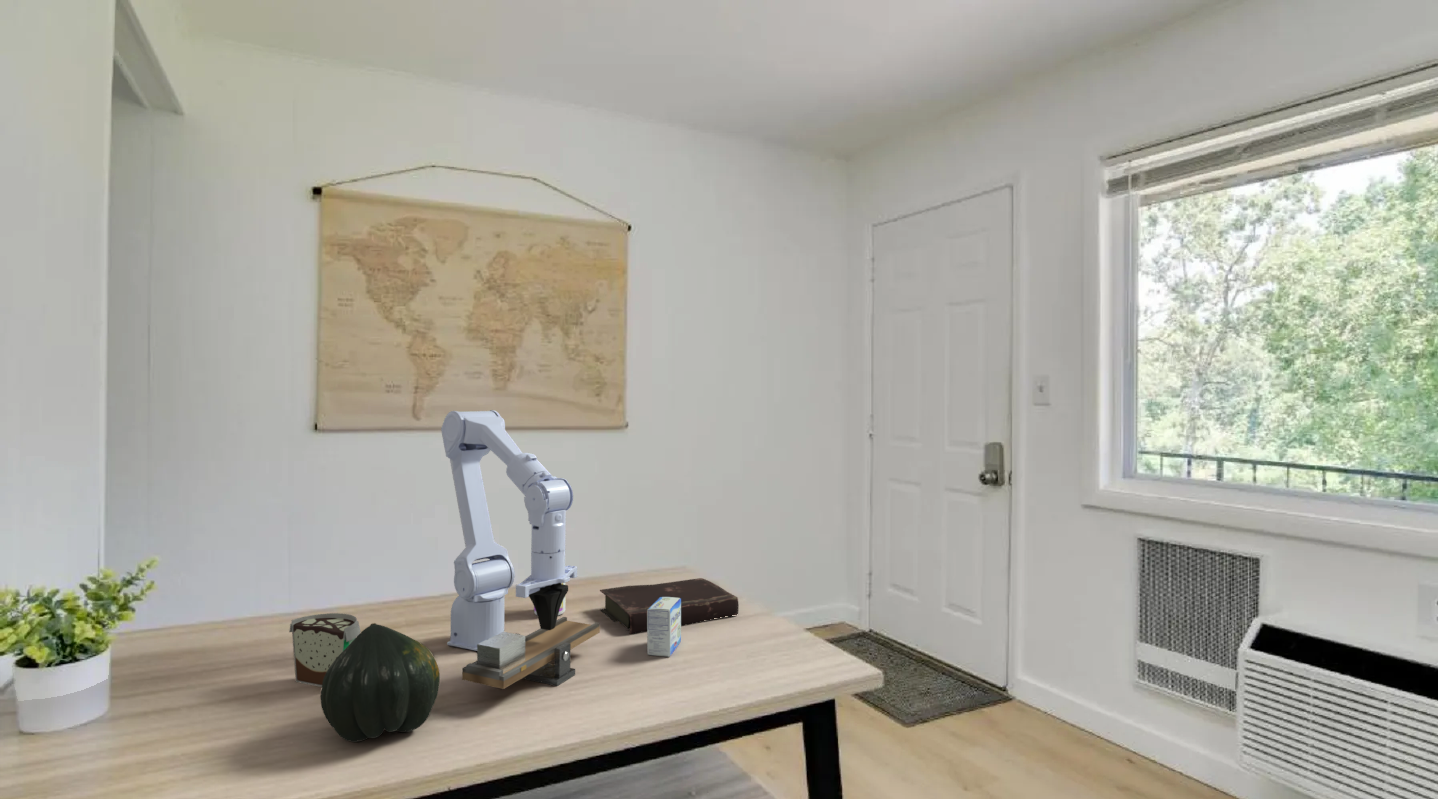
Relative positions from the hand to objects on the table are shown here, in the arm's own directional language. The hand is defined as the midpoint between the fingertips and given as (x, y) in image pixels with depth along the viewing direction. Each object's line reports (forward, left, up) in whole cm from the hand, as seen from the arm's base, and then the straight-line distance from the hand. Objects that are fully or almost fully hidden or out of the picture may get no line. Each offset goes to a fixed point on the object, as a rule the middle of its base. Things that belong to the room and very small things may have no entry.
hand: (547, 628), depth 121 cm
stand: (0, -3, -7) cm, 7 cm away
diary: (+5, +36, -8) cm, 37 cm away
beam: (0, -3, -3) cm, 4 cm away
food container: (-29, -19, -7) cm, 35 cm away
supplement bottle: (-18, +24, -7) cm, 31 cm away
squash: (-8, -28, -7) cm, 29 cm away
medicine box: (+14, +16, -7) cm, 23 cm away
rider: (0, -11, -2) cm, 12 cm away
